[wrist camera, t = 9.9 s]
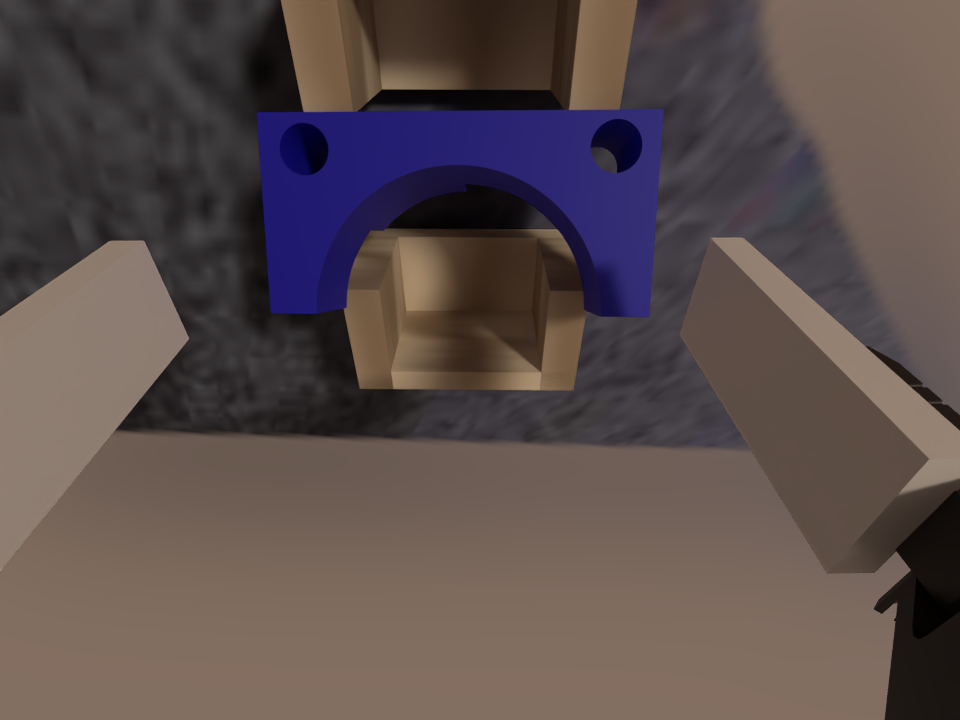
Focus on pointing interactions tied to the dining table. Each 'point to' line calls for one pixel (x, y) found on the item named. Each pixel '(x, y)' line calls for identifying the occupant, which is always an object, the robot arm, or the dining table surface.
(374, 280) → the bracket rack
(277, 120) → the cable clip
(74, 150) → the dining table surface
